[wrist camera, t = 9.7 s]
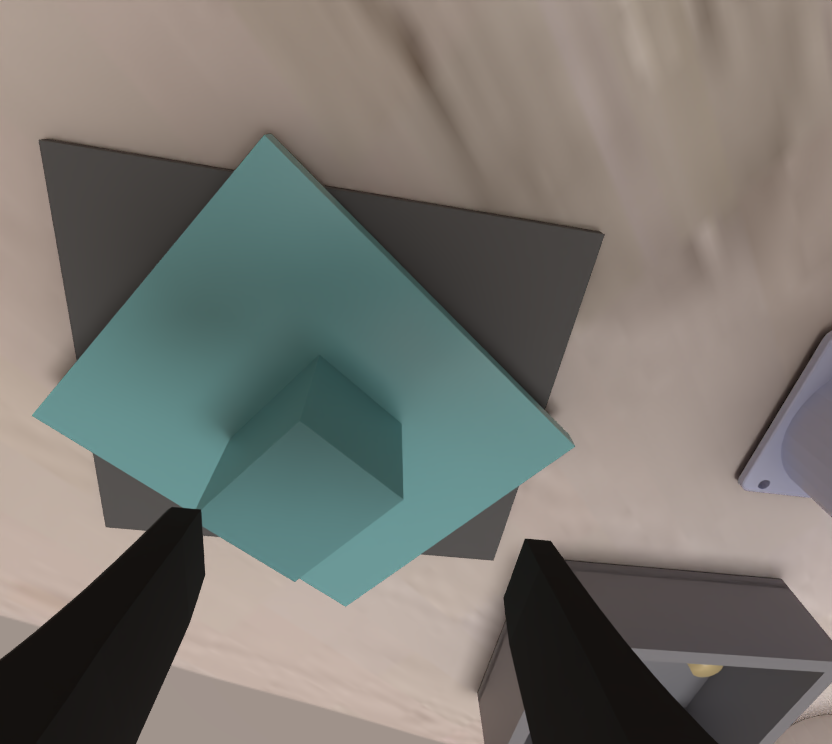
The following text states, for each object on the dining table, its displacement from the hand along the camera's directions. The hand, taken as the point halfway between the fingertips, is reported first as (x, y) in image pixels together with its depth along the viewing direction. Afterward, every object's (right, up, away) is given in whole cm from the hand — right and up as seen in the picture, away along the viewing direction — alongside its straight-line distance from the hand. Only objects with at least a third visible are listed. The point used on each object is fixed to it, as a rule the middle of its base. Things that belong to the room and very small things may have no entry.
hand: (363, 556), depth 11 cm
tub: (+13, -11, +17) cm, 24 cm away
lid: (-3, +3, +9) cm, 9 cm away
